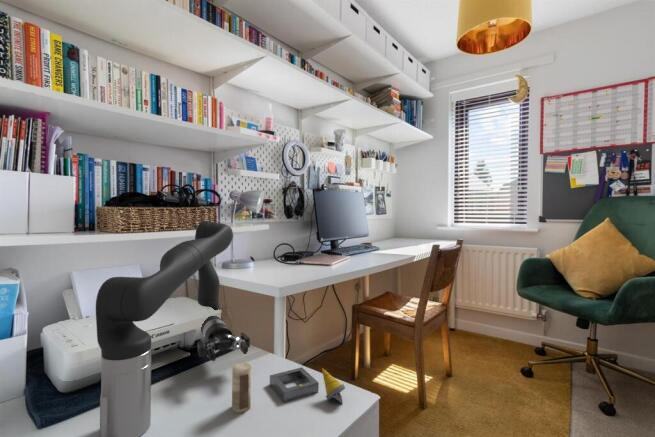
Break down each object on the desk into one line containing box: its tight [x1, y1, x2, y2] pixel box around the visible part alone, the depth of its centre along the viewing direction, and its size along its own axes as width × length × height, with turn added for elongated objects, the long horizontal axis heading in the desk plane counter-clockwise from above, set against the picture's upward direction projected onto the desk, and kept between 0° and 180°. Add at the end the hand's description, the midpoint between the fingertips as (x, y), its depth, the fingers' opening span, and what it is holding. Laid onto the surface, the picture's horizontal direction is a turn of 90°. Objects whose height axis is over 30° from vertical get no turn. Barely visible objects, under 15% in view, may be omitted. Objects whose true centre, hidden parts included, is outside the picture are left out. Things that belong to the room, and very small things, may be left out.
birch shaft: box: [231, 362, 252, 414], centre depth 80 cm, size 4×4×10 cm
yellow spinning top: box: [321, 367, 346, 405], centre depth 85 cm, size 5×5×10 cm
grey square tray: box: [269, 367, 320, 403], centre depth 90 cm, size 10×10×3 cm
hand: (230, 354), depth 90 cm, fingers open, 8 cm apart
